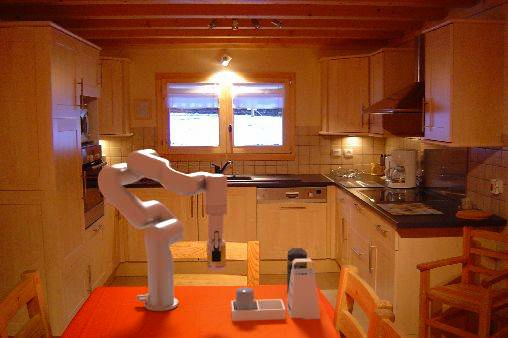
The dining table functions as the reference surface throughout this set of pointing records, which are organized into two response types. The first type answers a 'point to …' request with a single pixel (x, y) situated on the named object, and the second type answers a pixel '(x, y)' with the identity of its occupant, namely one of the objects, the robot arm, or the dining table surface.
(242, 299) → the grey smooth round piece
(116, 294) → the dining table surface
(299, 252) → the coffee jar
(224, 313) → the dining table surface
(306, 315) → the grater
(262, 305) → the caddy
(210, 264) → the supplement bottle
